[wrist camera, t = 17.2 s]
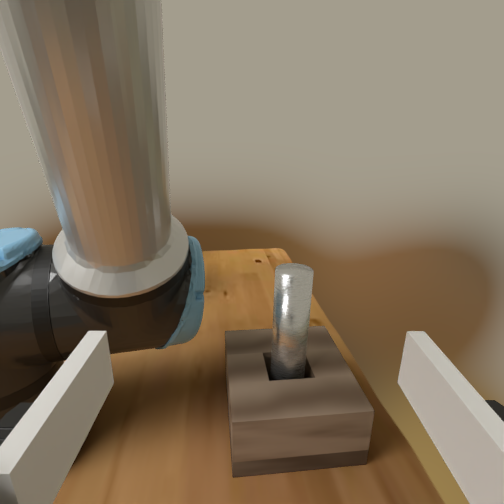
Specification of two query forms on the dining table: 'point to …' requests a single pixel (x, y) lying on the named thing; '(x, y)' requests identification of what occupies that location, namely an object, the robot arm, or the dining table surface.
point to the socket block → (293, 408)
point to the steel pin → (290, 321)
